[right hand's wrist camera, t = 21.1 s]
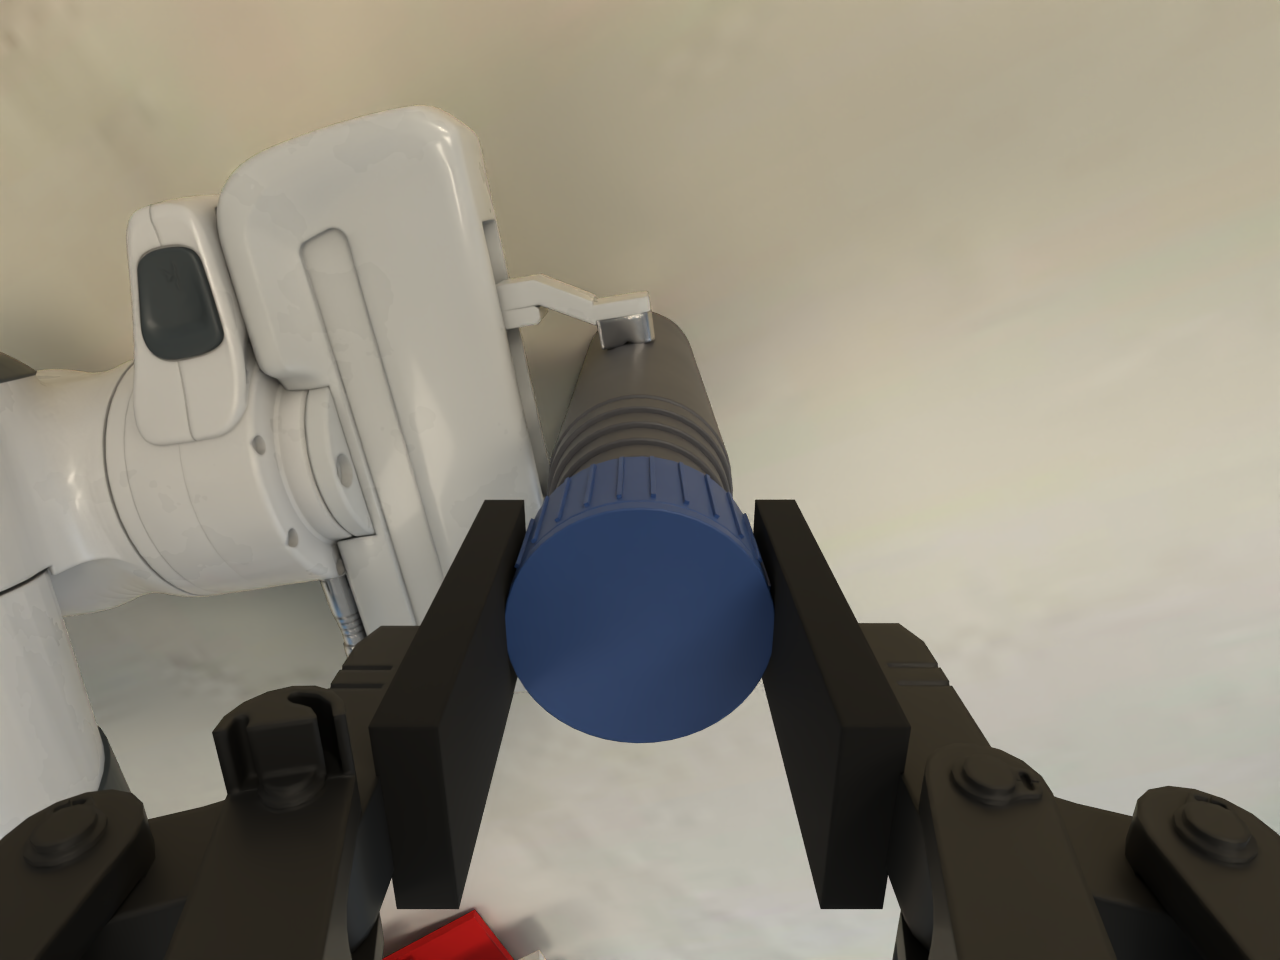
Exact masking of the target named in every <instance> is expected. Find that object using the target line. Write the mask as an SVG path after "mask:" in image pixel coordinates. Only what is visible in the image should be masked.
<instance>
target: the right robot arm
mask: <svg viewBox="0 0 1280 960" xmlns="http://www.w3.org/2000/svg"><path fill="white" fill-rule="evenodd" d="M525 534H526V522H525V506H524V500H484V502H483V504H482V506H481V508H480V510H479V512H478V514H477V516H476V518H475V520H474V522H473V524H472V525H471V527H470V529H469V531H468V533H467V535H466V537H465V539H464V541H463V543H462V545H461V547H460V549H459V551H458V553H457V555H456V557H455V559H454V561H453V562H452V564H451V566H450V568H449V570H448V572H447V574H446V576H445V578H444V580H443V582H442V584H441V586H440V588H439V590H438V592H437V594H436V596H435V598H434V600H433V601H432V603H431V605H430V607H429V609H428V611H427V613H426V615H425V617H424V619H423V621H422V623H421V625H420V626H380V627H379V628H377V629H376V630H374V631H373V632H372V633H370V634H369V635H368V636H366V637H365V638H364V639H362V640H361V641H360V642H358V643H357V644H356V645H355V647H354V648H353V650H352V651H351V653H350V654H349V656H348V658H347V659H346V661H345V662H344V664H343V665H342V670H339V672H338V673H337V675H336V676H335V678H334V680H333V681H332V683H331V688H328V689H325V688H322V687H318V686H290V687H286V688H282V689H277V690H273V691H269V692H266V693H264V694H261V695H259V696H257V697H254V698H252V699H250V700H248V701H245V702H243V703H242V704H241V705H239V706H238V707H236V708H235V709H234V710H232V711H231V712H229V713H228V714H227V715H225V716H224V717H223V719H222V720H221V721H220V723H219V724H218V725H217V726H216V728H215V729H214V730H213V732H212V734H213V738H214V742H215V746H216V750H217V754H218V758H219V762H220V766H221V770H222V774H223V778H224V782H225V786H226V790H227V797H226V799H225V800H223V801H220V802H217V803H213V804H210V805H207V806H204V807H199V808H195V809H191V810H187V811H182V812H178V813H174V814H169V815H165V816H161V817H156V818H152V819H147V815H146V812H145V809H144V806H143V803H142V802H141V801H140V800H139V799H138V798H137V797H136V796H135V795H134V794H132V793H130V792H125V791H119V790H114V789H109V790H101V791H93V792H85V793H82V794H79V795H76V796H73V797H70V798H67V799H64V800H61V801H58V802H56V803H54V804H52V805H50V806H48V807H47V808H45V809H43V810H41V811H39V812H37V813H35V814H33V815H32V816H30V817H28V818H27V819H25V820H24V821H23V822H22V823H20V824H19V825H18V826H17V827H15V828H14V829H13V830H12V831H10V832H9V833H8V834H6V835H5V836H4V837H3V838H2V839H1V840H0V960H382V957H383V947H384V939H383V931H382V924H381V918H380V912H379V911H380V908H381V906H382V903H383V900H384V897H385V895H386V892H387V889H388V886H389V884H390V881H391V878H392V881H393V887H394V894H395V900H396V906H397V909H459V906H460V902H461V898H462V894H463V891H464V887H465V883H466V879H467V875H468V871H469V867H470V863H471V859H472V855H473V851H474V847H475V843H476V839H477V835H478V831H479V828H480V824H481V820H482V816H483V812H484V808H485V804H486V800H487V796H488V792H489V788H490V784H491V780H492V776H493V772H494V768H495V765H496V761H497V757H498V753H499V749H500V745H501V741H502V737H503V733H504V729H505V725H506V721H507V717H508V713H509V709H510V705H511V702H512V698H513V694H514V690H515V686H516V682H517V678H518V677H517V675H516V673H515V671H514V668H513V666H512V664H511V662H510V659H509V655H508V650H507V637H506V623H505V607H506V601H507V598H508V595H509V590H510V587H511V584H512V581H513V578H514V575H515V572H516V569H517V568H515V567H514V566H515V563H516V560H517V558H518V555H519V552H520V549H521V546H522V543H523V540H524V537H525ZM753 535H754V538H755V539H756V542H757V545H758V548H759V551H760V554H761V557H762V560H763V563H764V566H765V569H766V572H767V575H768V578H769V581H770V584H771V590H770V592H771V596H772V599H773V602H774V609H775V614H774V630H773V643H772V654H771V657H770V660H769V663H768V666H767V668H766V670H765V672H764V674H763V676H762V680H763V684H764V688H765V692H766V696H767V700H768V703H769V707H770V711H771V715H772V719H773V723H774V727H775V731H776V735H777V739H778V743H779V747H780V751H781V755H782V759H783V763H784V766H785V770H786V774H787V778H788V782H789V786H790V790H791V794H792V798H793V802H794V806H795V810H796V814H797V818H798V822H799V826H800V829H801V833H802V837H803V841H804V845H805V849H806V853H807V857H808V861H809V865H810V869H811V873H812V877H813V881H814V885H815V889H816V892H817V896H818V900H819V904H820V908H821V909H883V903H884V897H885V890H886V884H887V878H888V876H889V879H890V881H891V884H892V887H893V889H894V892H895V895H896V898H897V900H898V903H899V906H900V909H901V912H900V918H899V924H898V930H897V936H896V942H895V948H894V954H893V959H892V960H1280V836H1279V835H1278V834H1277V833H1276V832H1275V831H1273V830H1272V829H1271V828H1270V827H1268V826H1267V825H1266V824H1265V823H1263V822H1262V821H1261V820H1259V819H1258V818H1257V817H1256V816H1254V815H1253V814H1252V813H1250V812H1248V811H1246V810H1244V809H1242V808H1240V807H1238V806H1236V805H1235V804H1233V803H1231V802H1229V801H1227V800H1225V799H1223V798H1220V797H1217V796H1214V795H1211V794H1208V793H1205V792H1202V791H1199V790H1196V789H1190V788H1182V787H1173V786H1165V787H1160V788H1154V789H1149V790H1148V791H1147V792H1145V793H1144V794H1143V795H1142V796H1141V797H1140V798H1139V799H1138V800H1137V803H1136V807H1135V810H1134V813H1133V816H1128V815H1124V814H1120V813H1115V812H1111V811H1107V810H1102V809H1098V808H1094V807H1089V806H1085V805H1081V804H1077V803H1073V802H1070V801H1067V800H1063V799H1060V798H1057V797H1054V795H1053V793H1052V791H1051V790H1050V788H1049V787H1048V785H1047V784H1046V782H1045V781H1044V779H1043V778H1042V776H1041V775H1040V774H1038V773H1037V772H1036V771H1035V770H1033V769H1032V768H1031V767H1030V766H1029V765H1027V764H1026V763H1025V762H1024V761H1022V760H1020V759H1018V758H1016V757H1014V756H1012V755H1010V754H1008V753H1006V752H1004V751H1002V750H1000V749H996V748H992V747H991V746H990V744H989V743H988V741H987V740H986V738H985V737H984V735H983V734H982V732H981V730H980V729H979V727H978V726H977V724H976V723H975V721H974V719H973V718H972V716H971V715H970V713H969V712H968V710H967V709H966V707H965V705H964V704H963V702H962V701H961V699H960V698H959V696H958V694H957V693H956V691H955V690H954V688H953V687H952V686H949V680H948V679H947V677H946V676H945V674H944V673H943V671H942V669H941V668H938V663H937V662H936V660H935V658H934V657H933V655H932V654H931V652H930V651H929V649H928V648H927V646H926V644H925V643H924V642H923V641H922V640H921V639H919V638H918V637H917V636H915V635H914V634H913V633H911V632H910V631H909V630H907V629H906V628H904V627H903V626H902V625H900V624H899V623H858V622H857V620H856V618H855V616H854V614H853V612H852V610H851V608H850V606H849V604H848V603H847V601H846V599H845V597H844V595H843V593H842V591H841V589H840V587H839V585H838V583H837V581H836V579H835V577H834V575H833V573H832V571H831V569H830V567H829V565H828V564H827V562H826V560H825V558H824V556H823V554H822V552H821V550H820V548H819V546H818V544H817V542H816V540H815V538H814V536H813V534H812V532H811V530H810V528H809V526H808V525H807V523H806V521H805V519H804V517H803V515H802V513H801V511H800V509H799V507H798V505H797V503H796V501H795V500H755V514H754V531H753Z"/></svg>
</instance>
